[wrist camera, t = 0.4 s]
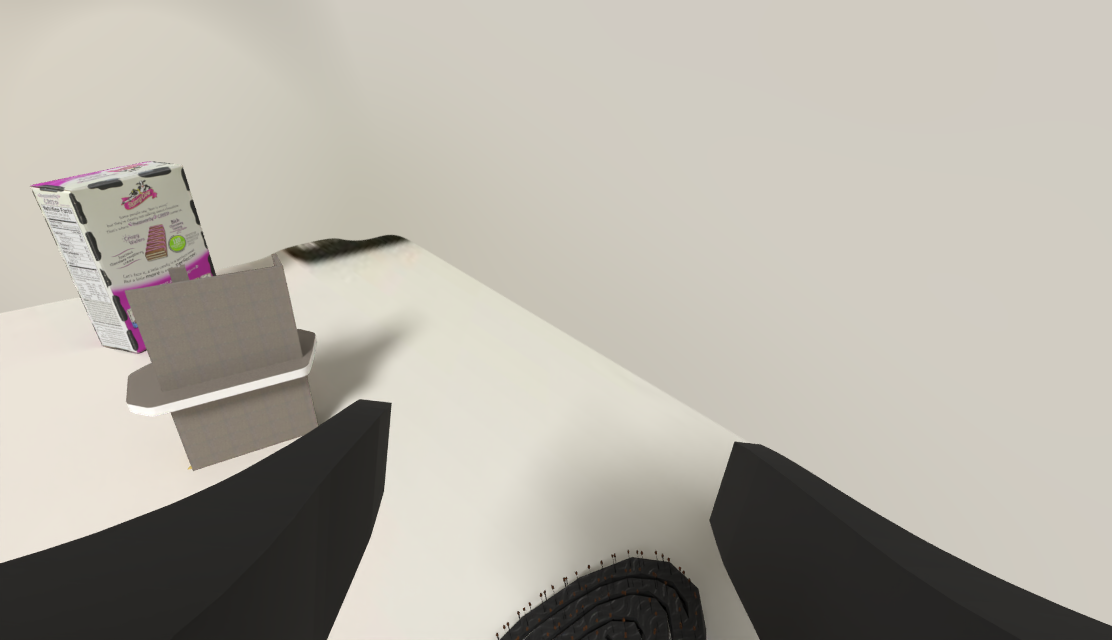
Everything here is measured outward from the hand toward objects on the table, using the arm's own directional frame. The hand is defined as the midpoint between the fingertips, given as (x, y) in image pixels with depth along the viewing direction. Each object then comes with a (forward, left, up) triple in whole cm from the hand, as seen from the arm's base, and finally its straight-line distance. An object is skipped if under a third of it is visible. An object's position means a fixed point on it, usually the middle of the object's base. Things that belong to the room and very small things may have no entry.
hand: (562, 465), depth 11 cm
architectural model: (+28, +19, -21) cm, 40 cm away
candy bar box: (+48, +34, -21) cm, 62 cm away
